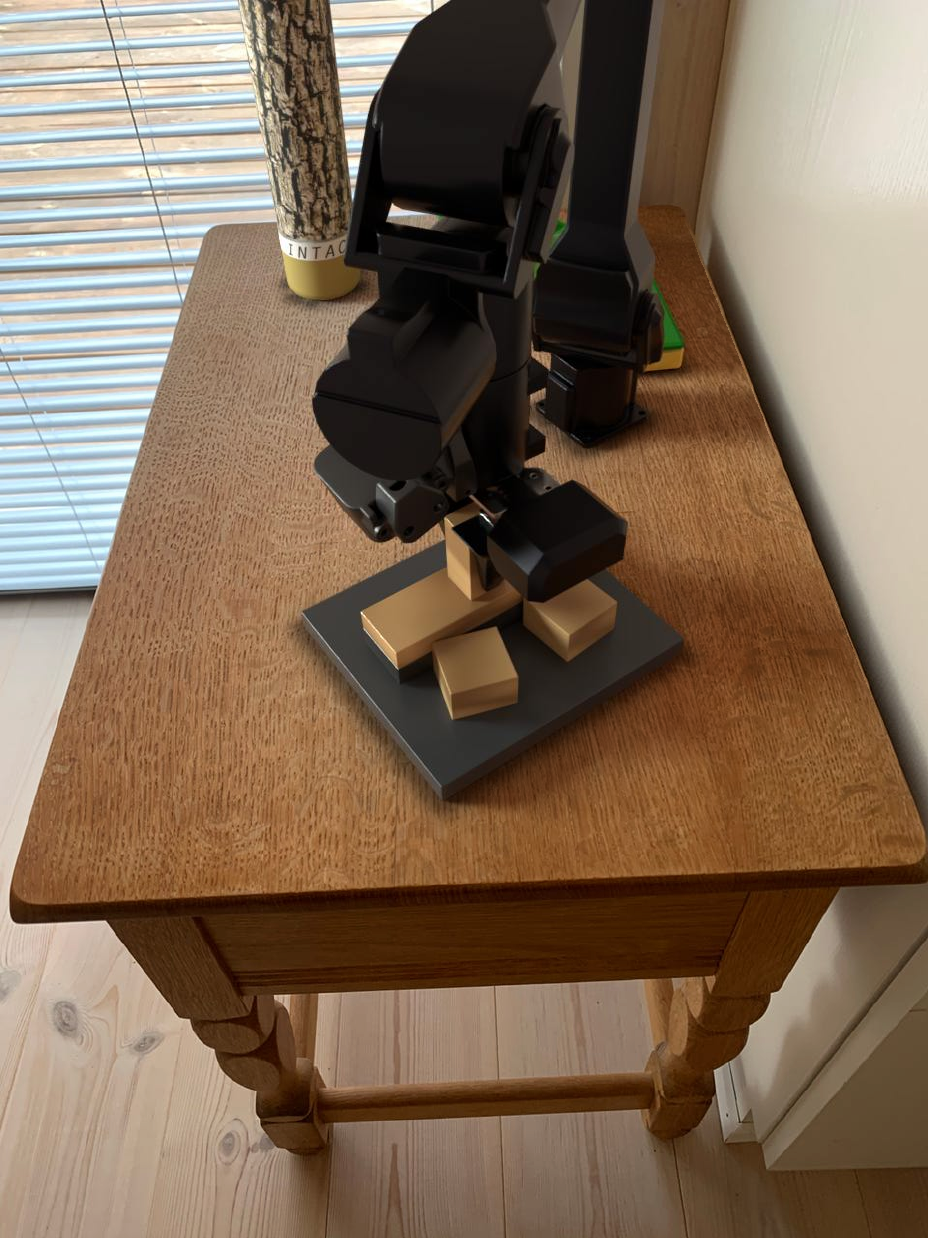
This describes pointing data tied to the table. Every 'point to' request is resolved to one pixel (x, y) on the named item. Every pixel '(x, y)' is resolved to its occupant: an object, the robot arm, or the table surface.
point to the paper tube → (302, 139)
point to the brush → (438, 608)
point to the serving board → (544, 677)
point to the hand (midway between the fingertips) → (477, 573)
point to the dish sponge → (668, 340)
